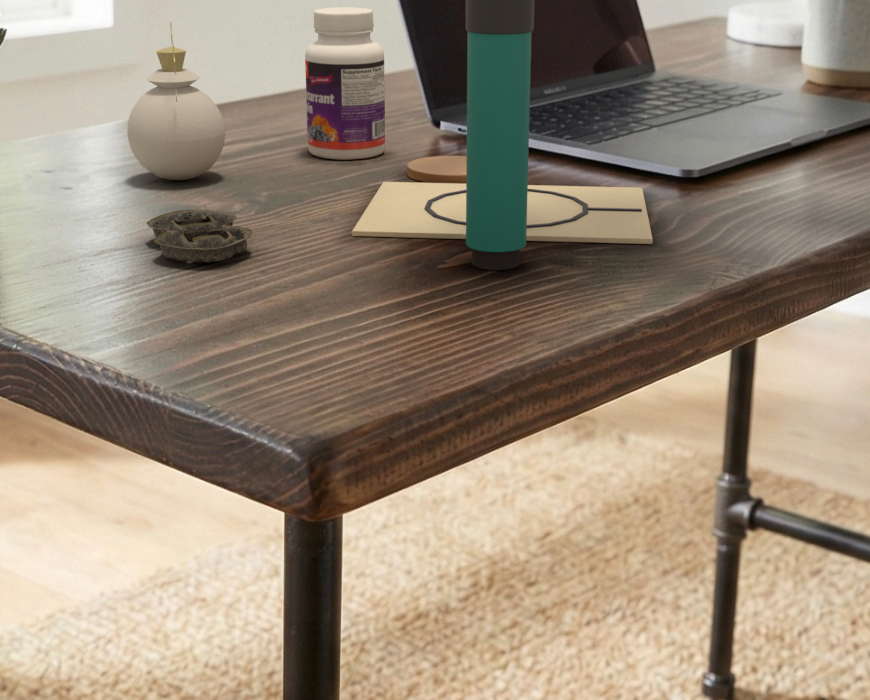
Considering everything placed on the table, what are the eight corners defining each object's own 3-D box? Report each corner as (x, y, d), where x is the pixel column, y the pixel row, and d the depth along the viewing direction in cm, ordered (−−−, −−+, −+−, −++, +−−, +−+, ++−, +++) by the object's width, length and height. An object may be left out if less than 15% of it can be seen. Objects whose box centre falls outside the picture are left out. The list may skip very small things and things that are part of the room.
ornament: (223, 167, 86) (215, 12, 83) (233, 192, 80) (224, 25, 76) (130, 171, 85) (118, 14, 82) (132, 197, 78) (118, 27, 75)
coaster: (501, 165, 87) (501, 156, 87) (496, 185, 81) (496, 175, 81) (412, 163, 88) (412, 154, 87) (401, 183, 82) (401, 173, 82)
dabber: (528, 256, 66) (535, -8, 62) (526, 273, 63) (533, -2, 59) (466, 254, 67) (468, -8, 62) (461, 272, 64) (463, -2, 59)
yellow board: (641, 192, 80) (642, 185, 79) (652, 244, 68) (652, 237, 68) (383, 186, 81) (383, 179, 81) (352, 236, 70) (352, 228, 70)
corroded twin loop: (230, 223, 72) (229, 204, 72) (264, 261, 65) (263, 240, 64) (138, 231, 70) (137, 213, 70) (164, 271, 63) (162, 250, 63)
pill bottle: (295, 150, 92) (290, 8, 88) (363, 142, 94) (361, 4, 91) (328, 164, 87) (324, 15, 84) (398, 155, 90) (397, 11, 87)
